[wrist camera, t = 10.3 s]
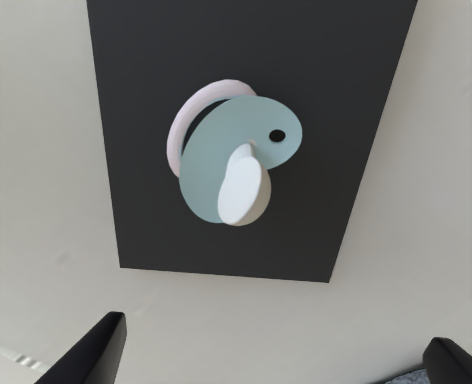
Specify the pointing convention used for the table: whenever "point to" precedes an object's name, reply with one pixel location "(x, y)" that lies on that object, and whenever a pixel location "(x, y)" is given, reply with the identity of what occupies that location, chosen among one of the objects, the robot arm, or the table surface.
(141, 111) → the mat
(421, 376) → the koala plush
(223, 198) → the pacifier
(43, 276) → the table surface
